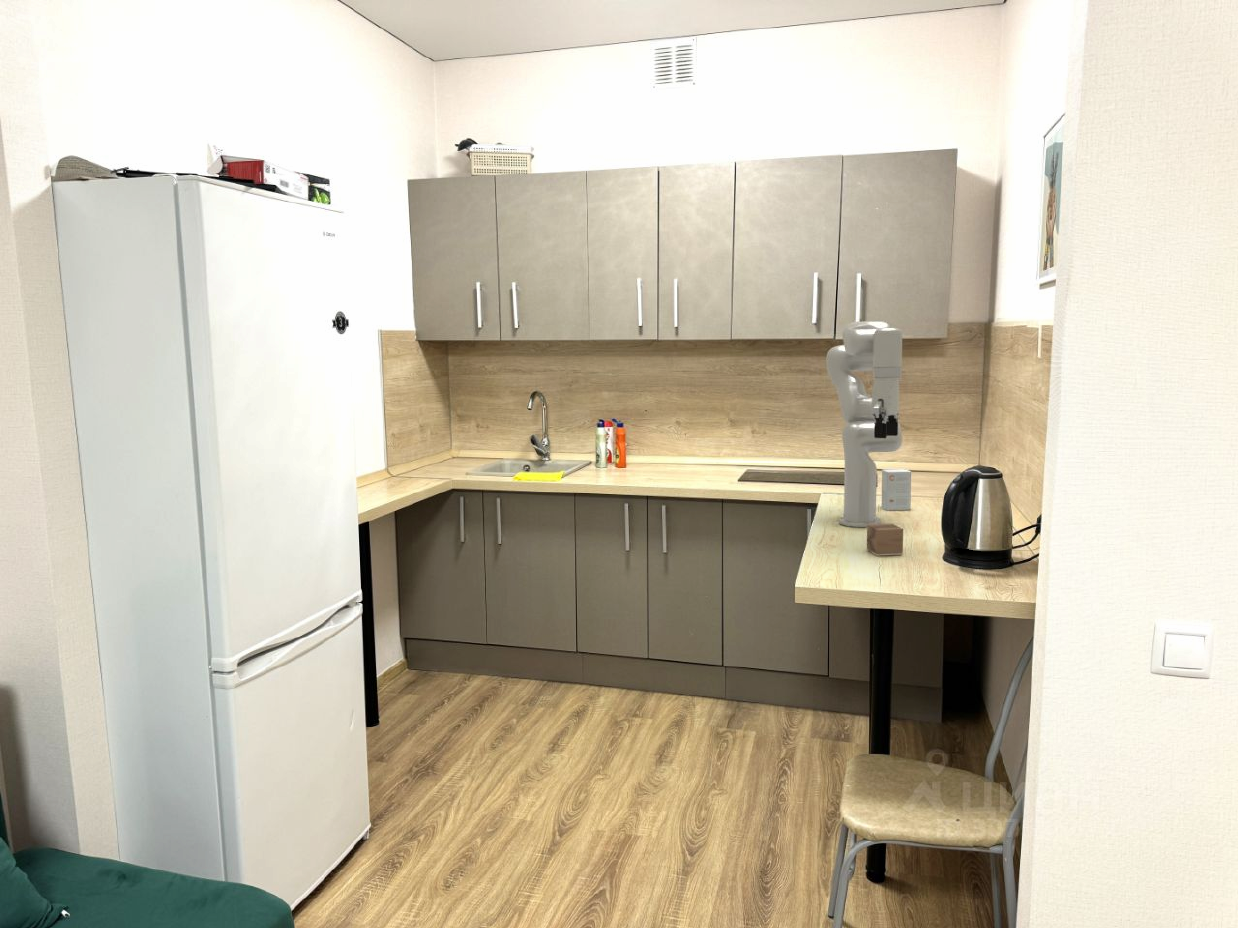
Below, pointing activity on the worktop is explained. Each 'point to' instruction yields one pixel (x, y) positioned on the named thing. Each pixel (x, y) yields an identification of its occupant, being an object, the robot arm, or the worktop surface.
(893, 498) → the small box
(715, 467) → the worktop surface
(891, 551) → the walnut block
